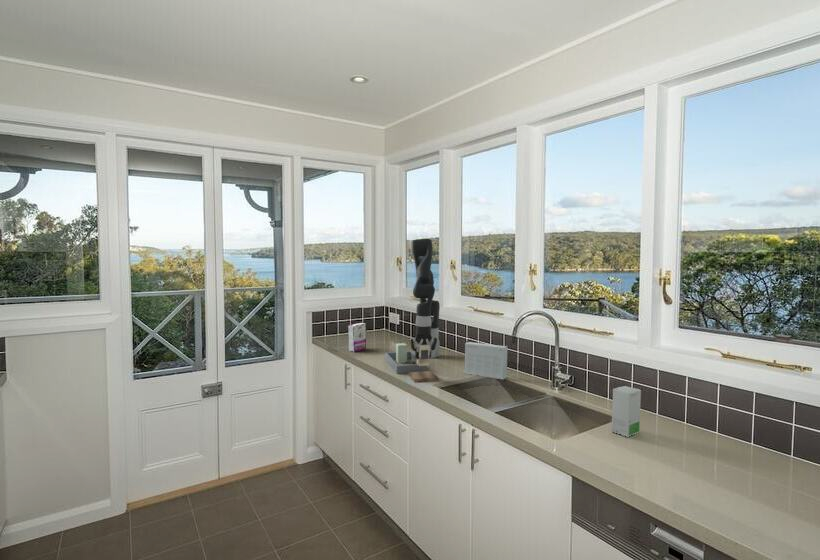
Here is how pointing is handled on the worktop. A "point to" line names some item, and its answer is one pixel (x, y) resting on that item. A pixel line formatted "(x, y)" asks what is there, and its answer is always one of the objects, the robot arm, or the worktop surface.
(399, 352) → the sage block
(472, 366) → the skincare box
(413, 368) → the grey bin
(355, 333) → the candy bar box
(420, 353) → the birch block
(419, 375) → the walnut board
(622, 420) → the skincare box
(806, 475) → the worktop surface
